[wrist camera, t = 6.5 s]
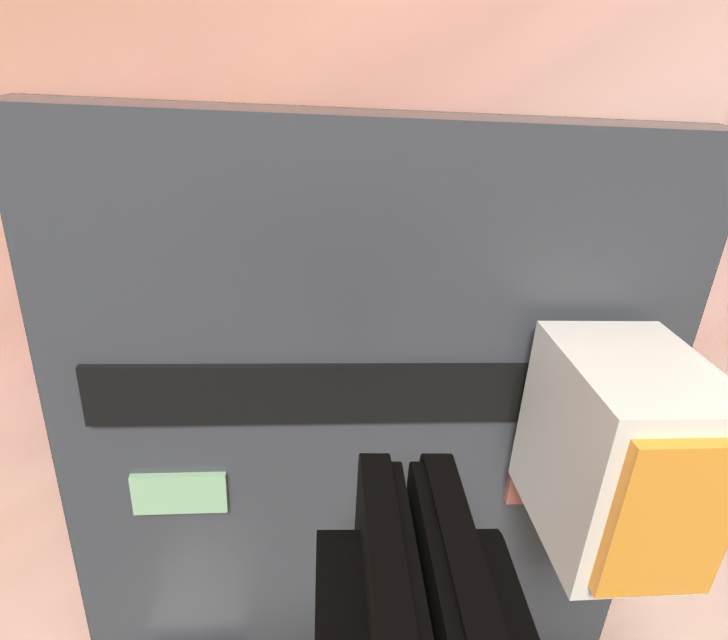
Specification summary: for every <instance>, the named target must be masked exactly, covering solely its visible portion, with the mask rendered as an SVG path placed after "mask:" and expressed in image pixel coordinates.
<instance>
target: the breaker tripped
mask: <svg viewBox="0 0 728 640" xmlns="http://www.w3.org/2000/svg"><path fill="white" fill-rule="evenodd" d="M508 472H509V474H510V476H511V479H512V481H513V483H514V485H515V487H516V489H517V491H518V493H519V495H520V498H521V500H522V502H523V504H524V506H525V508H526V510H527V512H528V514H529V517H530V519H531V521H532V523H533V525H534V527H535V529H536V531H537V533H538V536H539V538H540V540H541V542H542V544H543V546H544V548H545V550H546V552H547V554H548V557H549V559H550V561H551V563H552V565H553V567H554V569H555V571H556V573H557V576H558V578H559V580H560V582H561V584H562V586H563V588H564V590H565V592H566V595H567V597H568V599H569V601H577V600H598V599H619V598H640V597H661V596H683V595H704V594H708V593H709V591H710V588H711V586H712V584H713V581H714V579H715V576H716V574H717V571H718V569H719V567H720V564H721V562H722V559H723V557H724V554H725V552H726V550H727V547H728V376H727V375H726V374H724V373H723V372H722V371H721V370H719V369H718V368H717V367H716V366H714V365H713V364H712V363H711V362H709V361H708V360H707V359H706V358H704V357H703V356H702V355H701V354H699V353H698V352H697V351H696V350H694V349H693V348H692V347H691V346H689V345H688V344H687V343H686V342H684V341H683V340H682V339H681V338H679V337H678V336H677V335H676V334H674V333H673V332H672V331H671V330H669V329H668V328H667V327H666V326H664V325H663V324H662V323H661V322H659V321H537V324H536V329H535V334H534V339H533V345H532V350H531V355H530V360H529V366H528V371H527V376H526V381H525V387H524V392H523V397H522V402H521V408H520V413H519V418H518V423H517V429H516V434H515V439H514V444H513V450H512V455H511V460H510V465H509V470H508Z"/></svg>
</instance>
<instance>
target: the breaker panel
mask: <svg viewBox="0 0 728 640" xmlns="http://www.w3.org/2000/svg"><path fill="white" fill-rule="evenodd" d="M0 214H1V219H2V223H3V228H4V233H5V237H6V242H7V247H8V251H9V256H10V261H11V266H12V270H13V275H14V280H15V284H16V289H17V294H18V299H19V303H20V308H21V313H22V317H23V322H24V327H25V331H26V336H27V341H28V346H29V350H30V355H31V360H32V364H33V369H34V374H35V379H36V383H37V388H38V393H39V397H40V402H41V407H42V411H43V416H44V421H45V426H46V430H47V435H48V440H49V444H50V449H51V454H52V459H53V463H54V468H55V473H56V477H57V482H58V487H59V491H60V496H61V501H62V506H63V510H64V515H65V520H66V524H67V529H68V534H69V539H70V543H71V548H72V553H73V557H74V562H75V567H76V571H77V576H78V581H79V586H80V590H81V595H82V600H83V604H84V609H85V614H86V618H87V623H88V628H89V633H90V637H91V640H315V582H316V534H317V530H354V529H355V512H356V494H357V477H358V460H359V454H360V453H389V454H390V457H391V461H401V462H402V466H403V471H404V477H405V482H406V488H407V478H408V469H409V463H410V462H411V461H419V460H420V456H421V454H422V453H451V454H452V455H453V456H454V459H455V462H456V465H457V469H458V472H459V475H460V479H461V482H462V485H463V488H464V492H465V495H466V498H467V501H468V505H469V508H470V511H471V514H472V518H473V521H474V524H475V527H476V529H499V531H500V532H501V533H502V535H503V537H504V539H505V542H506V545H507V548H508V551H509V553H510V556H511V559H512V562H513V565H514V567H515V570H516V573H517V576H518V579H519V581H520V584H521V587H522V590H523V593H524V595H525V598H526V601H527V604H528V607H529V609H530V612H531V615H532V618H533V621H534V624H535V626H536V629H537V632H538V635H539V638H540V640H599V638H600V635H601V631H602V628H603V625H604V622H605V619H606V616H607V613H608V610H609V606H610V603H611V600H612V599H598V600H577V601H569V599H568V597H567V595H566V592H565V590H564V588H563V586H562V584H561V582H560V580H559V578H558V576H557V573H556V571H555V569H554V567H553V565H552V563H551V561H550V559H549V557H548V554H547V552H546V550H545V548H544V546H543V544H542V542H541V540H540V538H539V536H538V533H537V531H536V529H535V527H534V525H533V523H532V521H531V519H530V517H529V514H528V512H527V510H526V508H525V506H524V504H523V502H522V500H521V498H520V495H519V493H518V491H517V489H516V487H515V485H514V483H513V481H512V479H511V476H510V474H509V472H508V470H509V465H510V460H511V455H512V450H513V444H514V439H515V434H516V429H517V423H518V418H519V413H520V408H521V402H522V397H523V392H524V387H525V381H526V376H527V371H528V366H529V360H530V355H531V350H532V345H533V339H534V334H535V329H536V324H537V321H659V322H661V323H662V324H663V325H664V326H666V327H667V328H668V329H669V330H671V331H672V332H673V333H674V334H676V335H677V336H678V337H679V338H681V339H682V340H683V341H684V342H686V343H687V344H688V345H689V346H691V347H692V346H693V343H694V340H695V337H696V334H697V331H698V328H699V324H700V321H701V318H702V315H703V312H704V309H705V306H706V303H707V299H708V296H709V293H710V290H711V287H712V284H713V281H714V277H715V274H716V271H717V268H718V265H719V262H720V259H721V256H722V252H723V249H724V246H725V243H726V240H727V237H728V126H727V125H723V124H718V123H696V122H672V121H649V120H625V119H602V118H578V117H555V116H531V115H508V114H484V113H461V112H437V111H414V110H390V109H367V108H343V107H320V106H296V105H273V104H249V103H226V102H202V101H179V100H155V99H132V98H108V97H85V96H61V95H38V94H14V93H10V94H5V95H0Z"/></svg>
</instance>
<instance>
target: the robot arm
mask: <svg viewBox="0 0 728 640" xmlns="http://www.w3.org/2000/svg"><path fill="white" fill-rule="evenodd" d="M315 640H540V638H539V635H538V632H537V629H536V626H535V624H534V621H533V618H532V615H531V612H530V609H529V607H528V604H527V601H526V598H525V595H524V593H523V590H522V587H521V584H520V581H519V579H518V576H517V573H516V570H515V567H514V565H513V562H512V559H511V556H510V553H509V551H508V548H507V545H506V542H505V539H504V537H503V535H502V533H501V532H500V531H499V529H476V527H475V524H474V521H473V518H472V514H471V511H470V508H469V505H468V501H467V498H466V495H465V492H464V488H463V485H462V482H461V479H460V475H459V472H458V469H457V465H456V462H455V459H454V456H453V455H452V454H451V453H422V454H421V456H420V460H419V461H411V462H410V463H409V469H408V478H407V488H406V482H405V477H404V471H403V466H402V462H401V461H391V457H390V454H389V453H360V454H359V460H358V477H357V494H356V512H355V529H354V530H317V534H316V582H315Z"/></svg>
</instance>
